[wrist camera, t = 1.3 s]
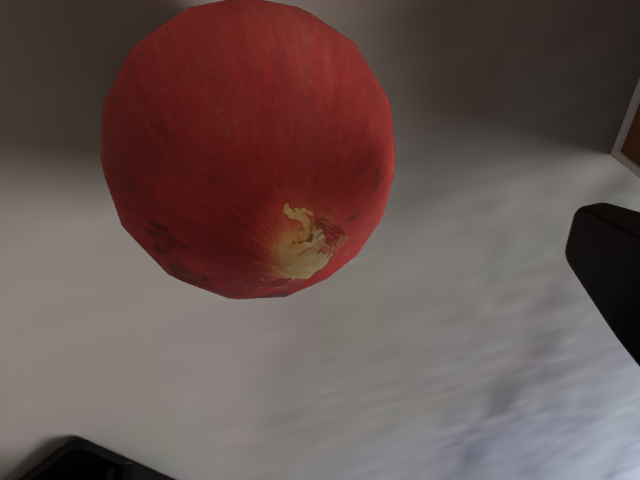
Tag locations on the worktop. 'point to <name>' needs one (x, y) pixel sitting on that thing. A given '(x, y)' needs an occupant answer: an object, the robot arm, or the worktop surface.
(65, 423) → the worktop surface
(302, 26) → the onion
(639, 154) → the food container
